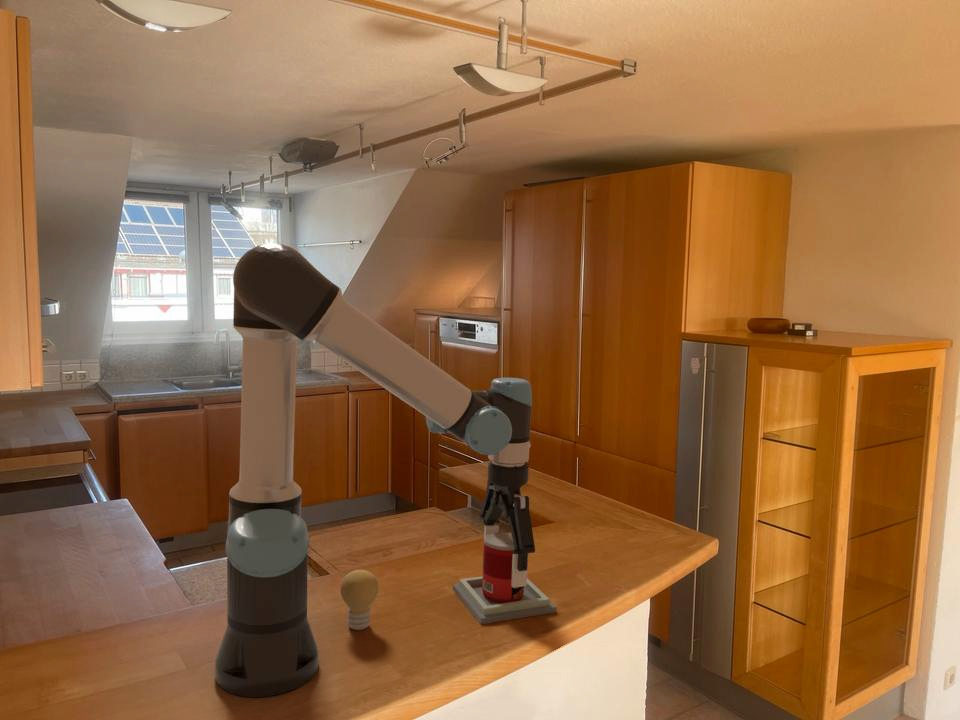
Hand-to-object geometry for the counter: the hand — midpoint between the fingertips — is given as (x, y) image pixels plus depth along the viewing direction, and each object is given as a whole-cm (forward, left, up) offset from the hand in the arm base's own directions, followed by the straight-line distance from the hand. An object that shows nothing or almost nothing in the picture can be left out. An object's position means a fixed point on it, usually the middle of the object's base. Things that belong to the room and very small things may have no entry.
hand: (503, 571), depth 136 cm
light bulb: (-28, -2, -6) cm, 29 cm away
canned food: (0, 0, -5) cm, 5 cm away
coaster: (0, 0, -6) cm, 6 cm away
